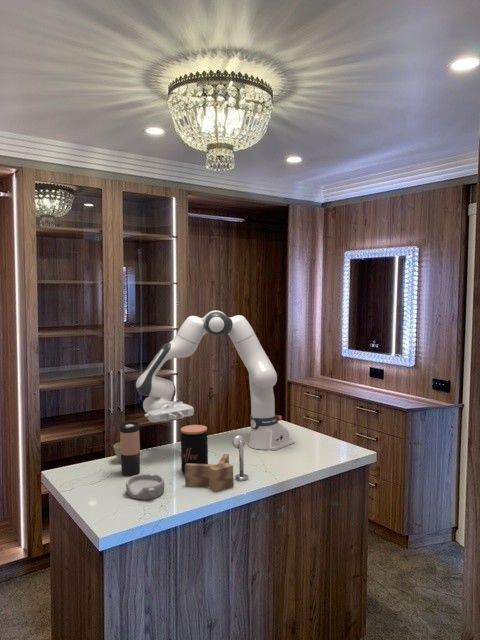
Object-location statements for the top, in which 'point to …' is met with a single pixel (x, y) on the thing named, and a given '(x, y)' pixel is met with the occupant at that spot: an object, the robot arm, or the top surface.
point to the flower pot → (117, 451)
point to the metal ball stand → (240, 457)
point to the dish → (145, 486)
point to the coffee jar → (194, 445)
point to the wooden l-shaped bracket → (210, 475)
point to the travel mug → (130, 448)
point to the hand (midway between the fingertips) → (179, 417)
